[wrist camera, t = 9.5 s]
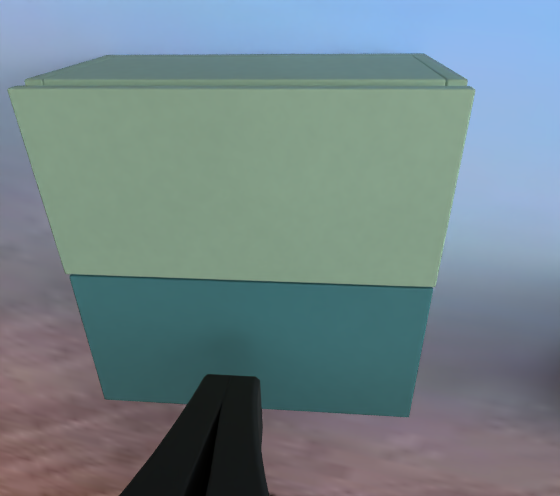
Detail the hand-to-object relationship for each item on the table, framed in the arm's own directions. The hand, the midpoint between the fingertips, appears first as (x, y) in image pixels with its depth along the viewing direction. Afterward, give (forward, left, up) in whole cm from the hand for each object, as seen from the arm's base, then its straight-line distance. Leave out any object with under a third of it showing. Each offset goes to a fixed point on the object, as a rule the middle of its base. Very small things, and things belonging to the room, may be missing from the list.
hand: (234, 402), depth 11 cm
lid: (-1, -1, -3) cm, 3 cm away
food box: (+1, +1, -9) cm, 9 cm away
